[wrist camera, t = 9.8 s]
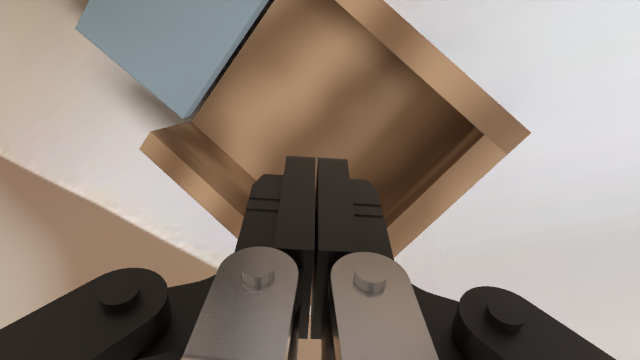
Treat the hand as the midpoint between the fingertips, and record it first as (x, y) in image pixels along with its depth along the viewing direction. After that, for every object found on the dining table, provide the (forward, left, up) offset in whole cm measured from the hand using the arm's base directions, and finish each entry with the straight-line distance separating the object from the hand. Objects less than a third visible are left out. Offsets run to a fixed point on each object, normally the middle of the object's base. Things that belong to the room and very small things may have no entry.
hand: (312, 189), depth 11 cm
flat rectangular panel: (-6, -10, -19) cm, 22 cm away
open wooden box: (+1, -4, -21) cm, 21 cm away
